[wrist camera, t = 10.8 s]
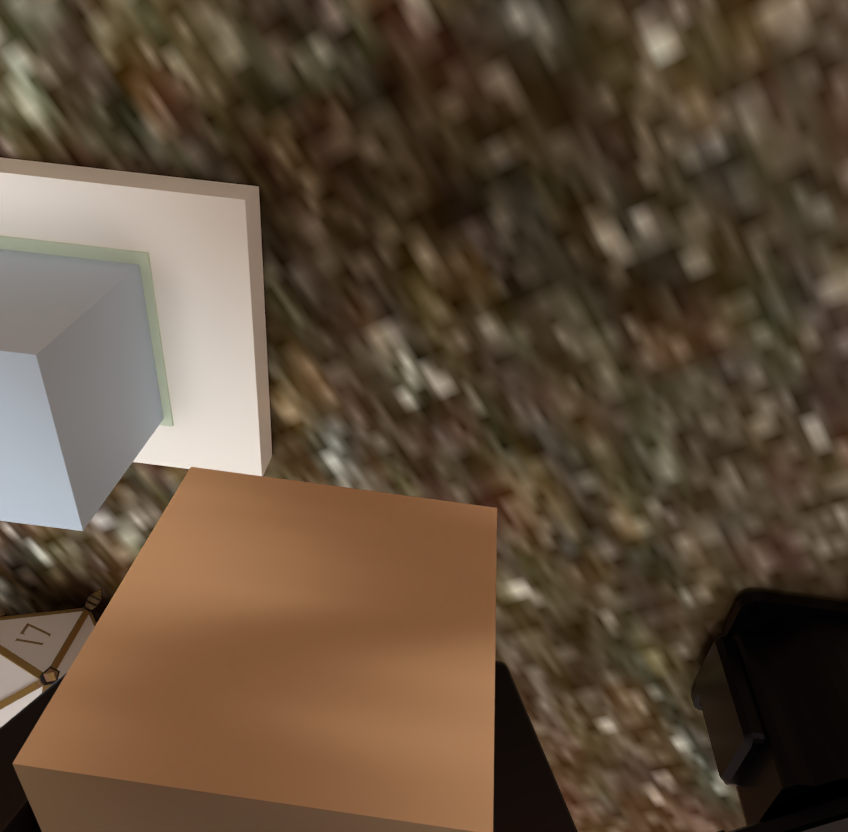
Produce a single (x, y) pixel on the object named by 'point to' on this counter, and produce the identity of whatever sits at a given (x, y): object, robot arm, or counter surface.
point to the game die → (39, 652)
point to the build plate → (169, 293)
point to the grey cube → (71, 384)
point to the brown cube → (283, 670)
